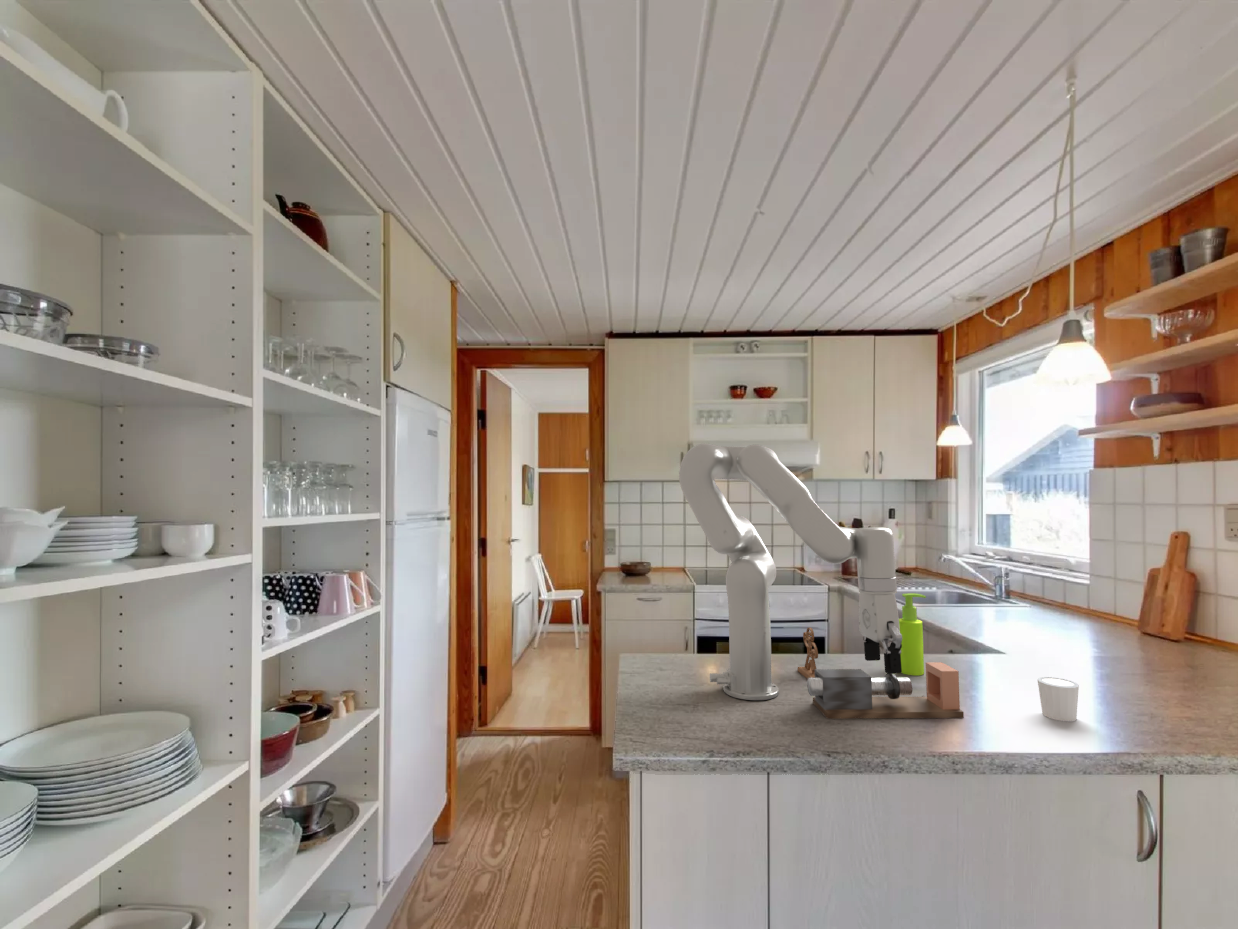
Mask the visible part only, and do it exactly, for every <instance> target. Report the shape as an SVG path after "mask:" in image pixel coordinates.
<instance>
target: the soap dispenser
mask: <svg viewBox="0 0 1238 929" xmlns="http://www.w3.org/2000/svg"><path fill="white" fill-rule="evenodd" d="M901 596H902V597H903V598H904V600H905V601H904V602H905V604H904V605H902V606H901V614H902V615H901V616H902V618H899V627H900V633H901V635H902V643H901V644H902V648H901V669H902V672H901V673H900V674H903V675H908V676H923V675H924V674H925V663H924V662H925V659H924V634H923V633H924V630H923V626H924V625H923V621H922V620H920V619H918V612H917V609H918V608H917V607H916V606H915V605H914V604H913V603H914V601H913V600H914V599H913V598H923V599H926V598H927V596H926V595H924V594H921V593H914V592H908V593H902V595H901Z"/></svg>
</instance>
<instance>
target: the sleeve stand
mask: <svg viewBox="0 0 1238 929" xmlns="http://www.w3.org/2000/svg"><path fill="white" fill-rule="evenodd" d="M871 677H872V676H870V675H869V674H868V673H867V672H865V671H864V670H862V669H861V668H837V669H835V668H832V669H831V668H830V669H829V668H822V669H817V668H816V669H815V678H822V679H823V696H812V703H813V705H814V706H815V707H816V708H817V709H818V710H819V712H820V713H822V715H823V716H824V717H825V718H826V719H827V720H829V719H831V720H832V719H834V720H835V719H839V720H840V719H948V718H949V719H955V718H957V719H959V718H964V717H965V715H964V711H963V710H962V709H961V708H960V709H942V708H940V707H939V706H937V705H935V704H934V703H932V702H931V701H929V700H928V699H927V696H899V698H898V699H890V698H889V697H888V696H873V695H872V679H871Z"/></svg>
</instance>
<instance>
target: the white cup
mask: <svg viewBox="0 0 1238 929" xmlns="http://www.w3.org/2000/svg"><path fill="white" fill-rule="evenodd" d="M1037 685H1038V692H1039V700H1040V706H1041V712H1042V715H1043V716H1045V717H1046V718H1049V719H1051V720H1055V721H1060V722H1075V721H1077V716H1078V702H1079V688H1080V686H1079V685H1080V684H1078V683H1077V682H1074V681H1072V680H1068V679H1065V678H1059V677H1052V676H1051V677H1049V676H1048V677H1047V676H1044V677H1038V678H1037Z"/></svg>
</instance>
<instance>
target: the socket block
mask: <svg viewBox="0 0 1238 929" xmlns="http://www.w3.org/2000/svg"><path fill="white" fill-rule="evenodd" d="M959 678H960V677H959V670H957V669H955V668H953V667H952V666H950V665H948V664H946V663H944V662H940V661H939V662H938V661H937V662H936V661H935V662H933V661H932V662H931V661H930V662H929V661H927V662H925V680H926V681H925V682H926V686H925V687H926V697H927V699H928V700H929V701H931V702H932V703H934V704H935V705H937V706H939V707H940V708H942V709H960V710H961V707H960V704H961V701H960V680H959Z"/></svg>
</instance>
